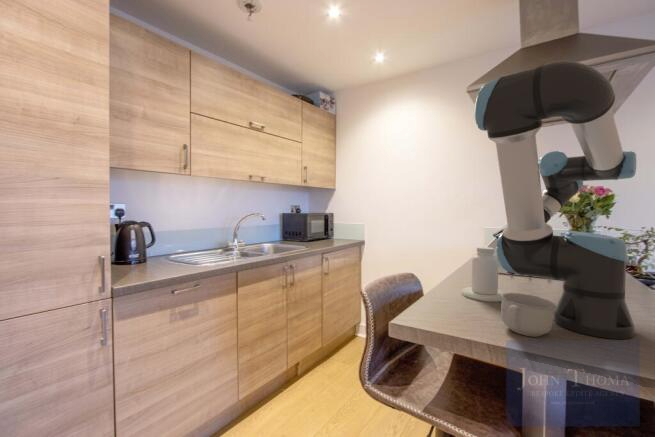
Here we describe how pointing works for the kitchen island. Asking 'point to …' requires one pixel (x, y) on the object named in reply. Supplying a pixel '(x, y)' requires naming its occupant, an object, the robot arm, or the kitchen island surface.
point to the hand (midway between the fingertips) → (495, 255)
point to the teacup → (527, 314)
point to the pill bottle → (485, 271)
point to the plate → (482, 295)
